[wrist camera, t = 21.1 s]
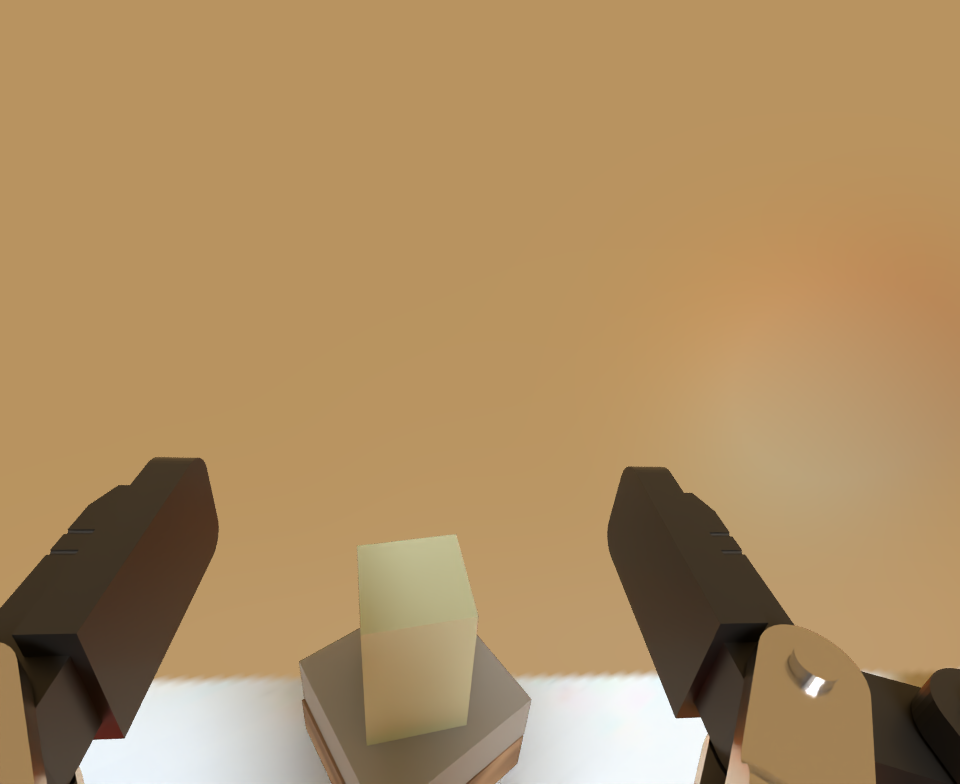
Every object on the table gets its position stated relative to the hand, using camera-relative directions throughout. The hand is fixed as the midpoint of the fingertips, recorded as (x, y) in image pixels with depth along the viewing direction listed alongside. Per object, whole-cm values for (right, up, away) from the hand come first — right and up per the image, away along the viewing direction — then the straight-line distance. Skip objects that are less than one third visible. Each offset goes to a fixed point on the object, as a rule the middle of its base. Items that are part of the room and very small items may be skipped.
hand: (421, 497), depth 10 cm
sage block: (-3, -17, +23) cm, 29 cm away
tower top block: (-4, -20, +25) cm, 33 cm away
